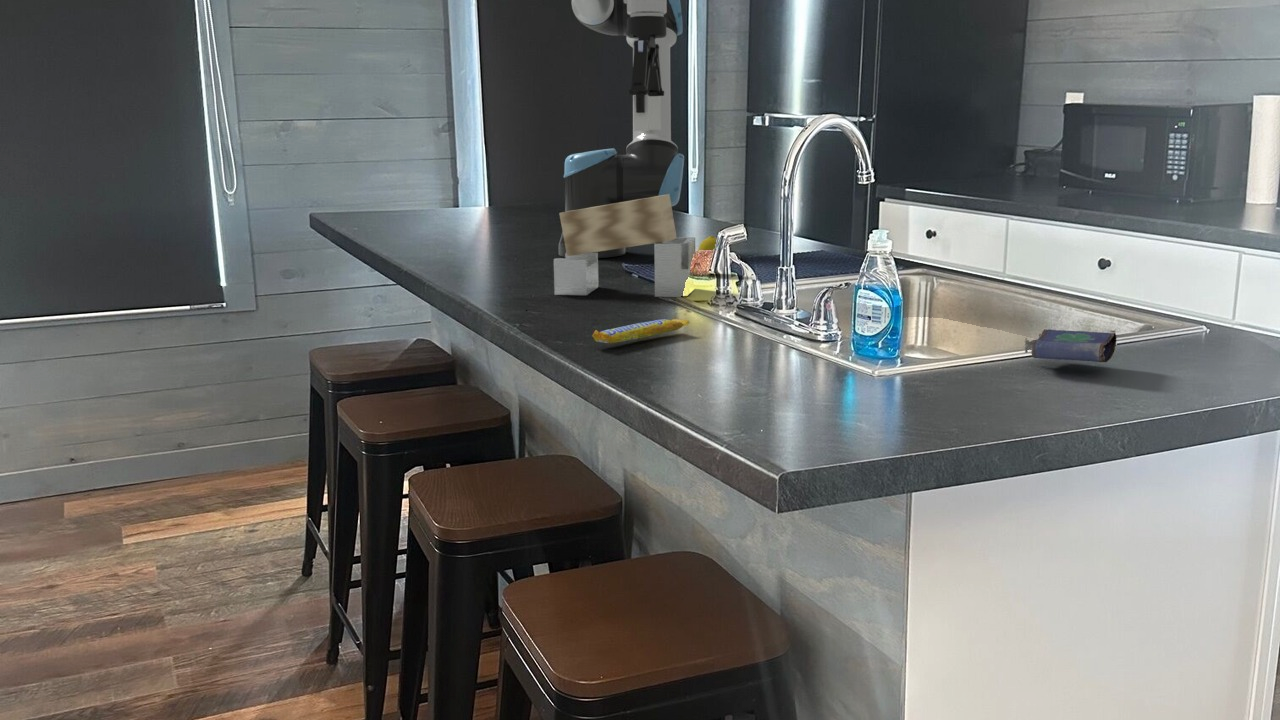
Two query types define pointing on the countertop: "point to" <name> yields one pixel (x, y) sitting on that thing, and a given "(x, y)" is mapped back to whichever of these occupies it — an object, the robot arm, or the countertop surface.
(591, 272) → the block
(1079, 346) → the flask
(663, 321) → the candy bar
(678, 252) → the block
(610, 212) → the rail
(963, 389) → the countertop surface
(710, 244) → the lemon
